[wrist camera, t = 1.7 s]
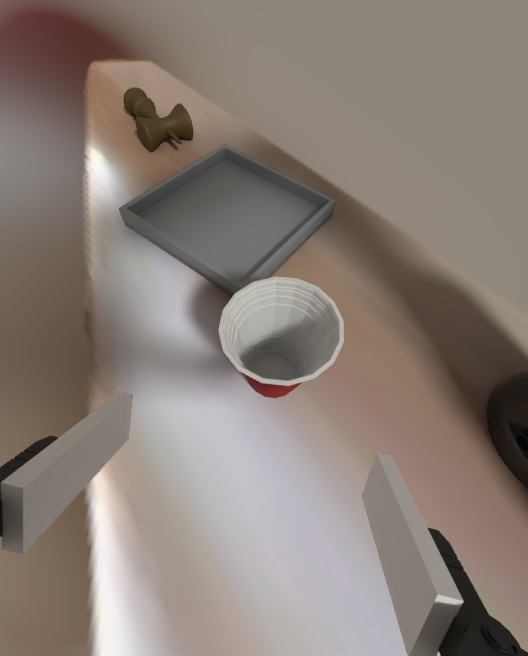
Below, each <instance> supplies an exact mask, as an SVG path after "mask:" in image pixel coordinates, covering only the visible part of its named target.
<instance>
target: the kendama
mask: <svg viewBox="0 0 528 656" xmlns="http://www.w3.org/2000/svg"><path fill="white" fill-rule="evenodd" d="M124 105H125V107H126V109H127V111H128V112H129V113H130V114H131V115H133V116H136V120H135V121H136V127H137V131H138V133H139V136H140V138H141V140H142V142H143V144H144V146H145V147H146V148H147V149H148V150H149V151H153V150H155V148H156V147H157V146H158V145H159V143H160V142H161V141H163V140H165V139H167V138H172V139H173V140H175V141H176V142H177V143H179V144H181V140H180V139H179V138H178V137H180V138H183V139H187V140H191V139H193V126H192V122H191V119H190V116H189V114H188V112H187V110H186V109H185V108H184V106H183V105H182V104H179V103H178V104H177V105H176V106H175V107H174V108H173V110H172V112H171V113H170V114H169V115H168V116H166V117H164V118H159V116H158V115H157V114H156V110H155V105H154V103H153V102H152V100H151V99H150V98H147V96H146V94H145V92H144V91H143V90H142V89H139V88H130V89H128V90H127V91H126V93H125V94H124Z"/></svg>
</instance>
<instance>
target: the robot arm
mask: <svg viewBox="0 0 528 656" xmlns="http://www.w3.org/2000/svg"><path fill="white" fill-rule="evenodd" d="M132 399H133V395H132V394H128V393H123V392H118V393H117V394H115V395H114V396H113V397H111V398H110V399H109V400H108V401H106V402H105V403H104V404H102V405H101V406H100V407H98V408H97V409H96V410H95V411H93V412H92V413H91V414H89V415H88V416H87V417H86V418H84V419H83V420H82V421H80V422H79V423H78V424H76V425H75V426H74V427H72V428H71V429H70V430H68V431H67V432H66V433H65V434H63V435H62V436H61V437H59V438H58V437H54V436H49V437H46V438H44V439H42V440H39V441H37V442H35V443H34V444H32V445H31V446H30V447H28V448H27V449H25V451H24V452H21V453H20V454H18V455H17V456H16V457H15V458H14V459H11V460H10V461H9V462H7V463H6V464H4V465H3V466H2V467H0V537H1V536H2V549H4V550H8V551H12V552H15V553H20V554H24V553H25V552H26V551H27V550H28V549H29V548H30V547H31V545H32V544H33V543H34V542H35V541H36V540H37V539H38V538H39V537H40V536H41V534H42V533H43V532H44V531H45V530H46V529H47V528H48V527H49V526H50V525H51V524H52V522H53V521H54V520H55V519H56V518H57V517H58V516H59V515H60V514H61V513H62V511H63V510H64V509H65V508H66V507H67V506H68V505H69V504H70V503H71V502H72V500H73V499H74V498H75V497H76V496H77V495H78V494H79V493H80V492H81V491H82V489H83V488H84V487H85V486H86V485H87V484H88V483H89V482H90V481H91V480H92V478H93V477H94V476H95V475H96V474H97V473H98V472H99V471H100V470H101V469H102V467H103V466H104V465H105V464H106V463H107V462H108V461H109V460H110V459H111V458H112V457H113V455H114V454H115V453H116V452H117V451H118V450H119V449H120V448H121V447H122V446H123V444H124V443H125V442H126V441H127V440H128V438H129V429H130V419H131V409H132ZM488 422H489V427H490V431H491V434H492V437H493V440H494V442H495V444H496V446H497V448H498V450H499V452H500V454H501V456H502V457H503V459H504V460H505V462H506V463H507V465H508V466H509V467H510V469H511V470H512V471H513V472H514V473H515V475H516V476H517V477H518V478H519V479H520V480H521V481H522V482H523V483H524V484H525V485H526V486H527V487H528V371H524V372H521V373H519V374H517V375H514V376H512V377H510V378H508V379H506V380H504V381H502V382H501V383H500V384H499V385H498V386H497V387H496V388H495V389H494V391H493V392H492V394H491V396H490V399H489V404H488ZM362 498H363V502H364V505H365V509H366V512H367V516H368V519H369V523H370V526H371V530H372V533H373V537H374V540H375V544H376V547H377V551H378V554H379V558H380V561H381V564H382V568H383V571H384V575H385V578H386V582H387V585H388V589H389V592H390V596H391V599H392V603H393V606H394V610H395V613H396V617H397V620H398V623H399V627H400V630H401V634H402V637H403V641H404V644H405V648H406V651H407V655H408V656H436V655H437V653H438V651H439V652H440V655H441V656H528V652H526V651H524V650H523V649H521V647H520V645H519V643H518V642H517V640H516V639H515V638H514V637H513V635H512V634H511V633H510V631H509V630H508V629H506V628H505V627H504V626H503V625H502V624H501V623H500V622H499V621H497V620H496V619H494V618H493V617H491V616H490V615H489V614H488V612H487V610H486V609H485V607H484V605H483V603H482V601H481V599H480V598H479V596H478V594H477V592H476V590H475V589H474V587H473V585H472V583H471V581H470V579H469V578H468V576H467V574H466V572H465V571H464V570H463V567H462V565H461V563H460V561H459V560H458V559H457V556H456V554H455V552H454V550H453V548H452V547H451V545H450V543H449V542H448V541H447V540H446V539H445V537H444V536H443V535H442V534H441V533H440V532H439V531H438V530H435V529H431V528H427V526H426V524H425V522H424V520H423V518H422V516H421V514H420V512H419V510H418V508H417V506H416V504H415V502H414V500H413V498H412V496H411V494H410V492H409V490H408V488H407V486H406V484H405V482H404V480H403V478H402V476H401V474H400V472H399V470H398V468H397V466H396V464H395V462H394V460H393V458H392V456H390V455H385V454H381V453H376V456H375V459H374V462H373V465H372V468H371V471H370V473H369V476H368V479H367V482H366V485H365V488H364V491H363V494H362Z"/></svg>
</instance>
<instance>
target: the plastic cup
mask: <svg viewBox="0 0 528 656" xmlns="http://www.w3.org/2000/svg"><path fill="white" fill-rule="evenodd" d="M218 331H219V336H220V340H221V344H222V349H223V352H224V353H225V354H226V356H227V357H228V358H229V360H230V361H231V362H232V363H233V365H234V366H235V367H236V368H237V370H238V371H240V372H242V373H244V374H245V376H246V377H247V379H248V381H249V383H250V384H251V386H252V387H253V388H254V390H255V391H256V392H258V393H260V394H261V395H263V396H265V397H272V398H277V397H281V396H285V395H286V394H288V393H289V392H291V391H292V390H293V389H295V388H296V387H297V386H299V385H300V384H301V383H302V382H305V381H308V380H312V379H314V378H316V377H317V376H318V375H319V374H321V373H322V372H323V371H324V370H326V369H327V368H328V367H329V366H331V365H332V364H333V363H334V361H335V359H336V357H337V355H338V353H339V351H340V349H341V347H342V345H343V343H344V326H343V319H342V317H341V315H340V313H339V311H338V309H337V307H336V305H335V302H334V301H333V300H332V299H331V298H330V297H328V296H327V295H326V294H325V293H324V292H323V291H322V290H321V289H320V288H318V287H317V286H314V285H312V284H309V283H307V282H305V281H302V280H300V279H297V278H285V277H272V278H267V279H263V280H259V281H254V282H252V283H251V284H249V285H247V286H246V287H244V288H243V289H241V290H239V291H238V292H236V293H235V294H234V296H233V297H232V298H231V300H230V301H229V302H228V304H227V305H226V306H225V307H224V309H223V311H222V316H221V320H220V324H219V329H218Z"/></svg>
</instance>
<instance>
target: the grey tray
mask: <svg viewBox="0 0 528 656" xmlns="http://www.w3.org/2000/svg"><path fill="white" fill-rule="evenodd" d="M335 203H336V200H335V199H333V198H331V197H329V196H327V195H325V194H323V193H321V192H319V191H317V190H315V189H313V188H311V187H309V186H307V185H305V184H303V183H301V182H299V181H297V180H295V179H293V178H291V177H289V176H287V175H285V174H283V173H281V172H279V171H277V170H275V169H273V168H271V167H269V166H267V165H265V164H263V163H261V162H259V161H257V160H255V159H253V158H251V157H249V156H247V155H245V154H243V153H241V152H239V151H237V150H235V149H233V148H231V147H229V146H227V145H223V146H221V147H220V148H218V149H216V150H215V151H213V152H211V153H210V154H208V155H206V156H205V157H203V158H201V159H200V160H198V161H196V162H195V163H193V164H191V165H190V166H188V167H186V168H185V169H183V170H182V171H180V172H178V173H177V174H175V175H173V176H172V177H170V178H168V179H167V180H165V181H163V182H162V183H160V184H158V185H157V186H155V187H153V188H152V189H150V190H148V191H147V192H145V193H143V194H142V195H140V196H138V197H137V198H135V199H133V200H132V201H130V202H129V203H127V204H125V205H124V206H122V207H120V208H119V210H120V213H121V215H122V218H123V220H124V222H125V225H127V226H128V227H130V228H131V229H133V230H134V231H136V232H137V233H139V234H140V235H142V236H143V237H145V238H146V239H148V240H149V241H151V242H152V243H154V244H155V245H157V246H158V247H160V248H161V249H163V250H164V251H165V252H167V253H168V254H170V255H171V256H173V257H174V258H176V259H177V260H179V261H180V262H182V263H183V264H185V265H186V266H188V267H189V268H191V269H192V270H194V271H195V272H197V273H198V274H200V275H201V276H203V277H204V278H206V279H207V280H209V281H210V282H212V283H213V284H215V285H216V286H218V287H219V288H221V289H222V290H224V291H225V292H227V293H228V294H230V295H231V296H234V294H235V293H236V292H238V291H239V290H241V289H243V288H244V287H246V286H247V285H249V284H251V283H252V282H254V281H259V280H263V279H267V278H270V277H271V276H272V275H273V274H274V273H275V272H276V271H277V270H278V269H279V268H280V267H281V266H282V265H283V264H284V263H285V262H286V261H287V260H288V259H289V258H290V257H291V256H292V255H293V254H294V253H295V252H296V251H297V250H298V249H299V248H300V247H301V246H302V245H303V244H304V243H305V242H306V241H307V240H308V239H309V238H310V237H311V236H312V235H313V234H314V233H315V232H316V231H317V230H318V229H319V228H320V227H321V226H322V225H323V224H324V223H325V222H326V221H327V220H328V219H329V218H330V217H331V216H332V213H333V210H334V207H335Z"/></svg>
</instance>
